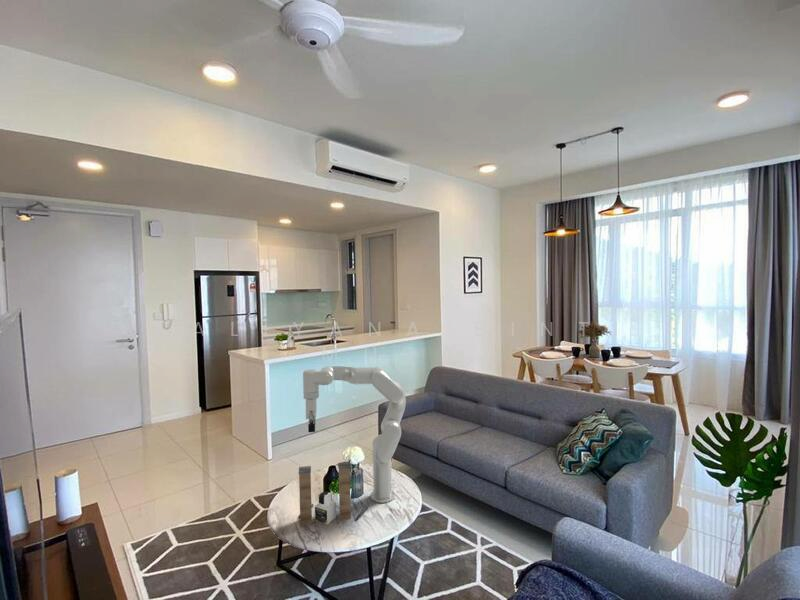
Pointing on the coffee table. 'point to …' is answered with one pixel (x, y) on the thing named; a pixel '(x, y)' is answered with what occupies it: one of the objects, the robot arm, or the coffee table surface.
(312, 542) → the coffee table surface
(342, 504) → the post
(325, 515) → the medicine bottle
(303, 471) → the post
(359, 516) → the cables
